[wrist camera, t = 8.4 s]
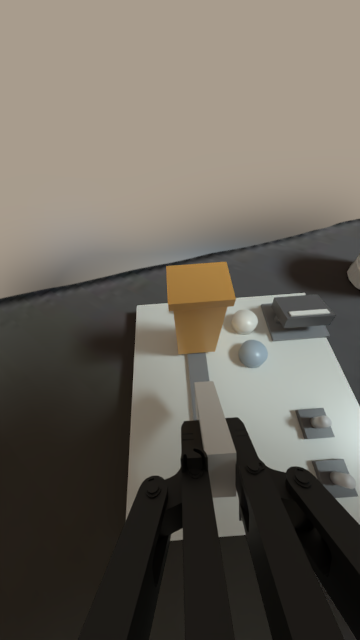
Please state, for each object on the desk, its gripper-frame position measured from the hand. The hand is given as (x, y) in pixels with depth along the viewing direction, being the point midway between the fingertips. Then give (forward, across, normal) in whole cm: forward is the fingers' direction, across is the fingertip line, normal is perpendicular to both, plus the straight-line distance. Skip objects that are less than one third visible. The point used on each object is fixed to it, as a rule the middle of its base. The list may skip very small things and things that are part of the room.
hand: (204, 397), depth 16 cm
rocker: (+8, +12, +5) cm, 15 cm away
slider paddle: (+7, 0, +2) cm, 8 cm away
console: (+6, +4, -3) cm, 8 cm away
